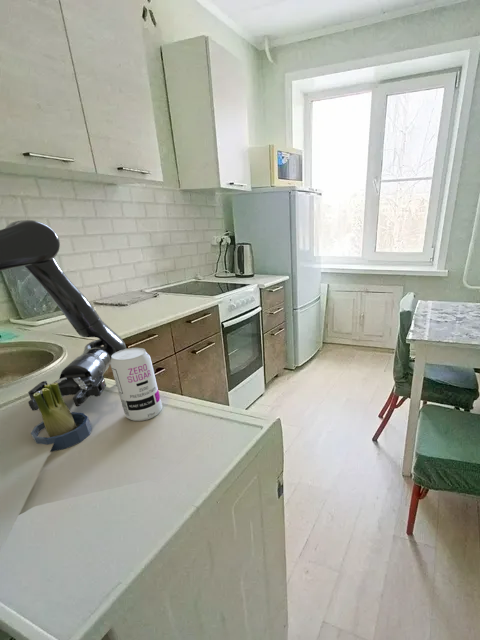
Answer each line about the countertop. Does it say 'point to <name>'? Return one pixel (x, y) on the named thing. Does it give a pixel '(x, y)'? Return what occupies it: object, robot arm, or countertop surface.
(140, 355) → the supplement can
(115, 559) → the countertop surface
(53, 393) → the fennel bulb
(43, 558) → the countertop surface
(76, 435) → the ring
